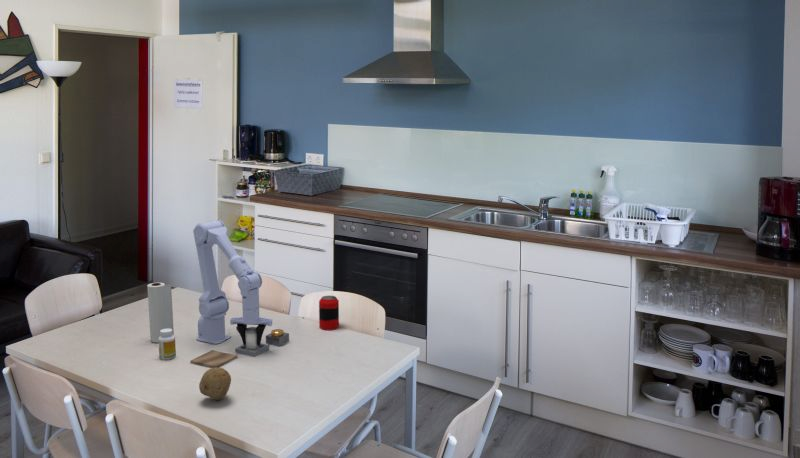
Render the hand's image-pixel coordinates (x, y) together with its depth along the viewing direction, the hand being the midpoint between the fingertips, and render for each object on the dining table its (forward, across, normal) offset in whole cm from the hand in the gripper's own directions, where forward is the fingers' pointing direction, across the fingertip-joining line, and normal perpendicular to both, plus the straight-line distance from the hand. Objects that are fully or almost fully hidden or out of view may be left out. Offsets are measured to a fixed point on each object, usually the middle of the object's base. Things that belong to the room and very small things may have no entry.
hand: (252, 344), depth 243 cm
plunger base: (+2, -7, -9) cm, 12 cm away
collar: (+2, 0, 0) cm, 2 cm away
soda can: (+3, -22, -28) cm, 36 cm away
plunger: (+1, -7, -9) cm, 11 cm away
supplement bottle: (+3, +27, +9) cm, 29 cm away
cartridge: (+2, 0, 0) cm, 2 cm away
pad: (+2, +10, +10) cm, 15 cm away
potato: (+3, -1, +40) cm, 40 cm away
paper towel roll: (+3, +36, -6) cm, 37 cm away
